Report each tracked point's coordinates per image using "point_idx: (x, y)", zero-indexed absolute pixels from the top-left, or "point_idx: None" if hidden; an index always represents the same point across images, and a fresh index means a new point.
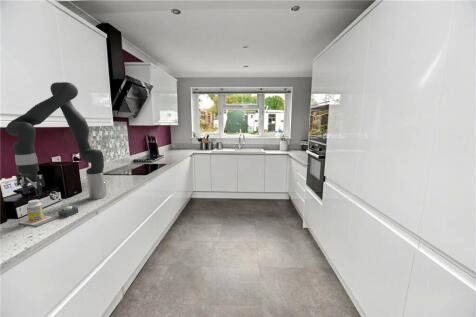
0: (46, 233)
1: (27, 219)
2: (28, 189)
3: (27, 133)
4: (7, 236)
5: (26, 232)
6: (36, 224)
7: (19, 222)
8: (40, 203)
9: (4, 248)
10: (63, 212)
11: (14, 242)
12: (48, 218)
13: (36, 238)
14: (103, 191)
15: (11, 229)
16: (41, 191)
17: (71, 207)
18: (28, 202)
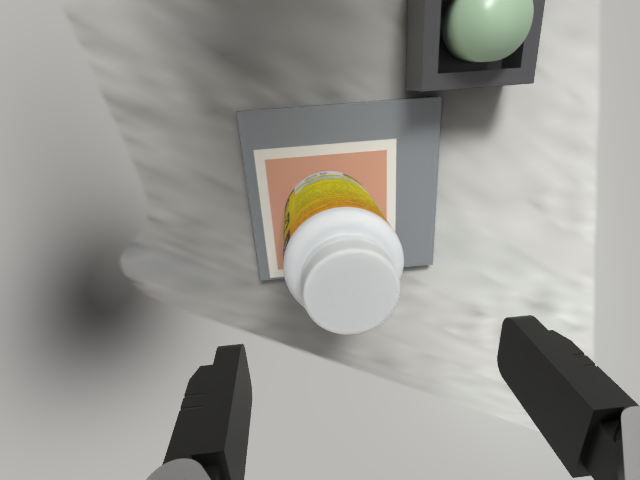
0: (566, 290)
1: (253, 229)
2: (237, 389)
3: None
4: (388, 370)
5: (440, 318)
6: (410, 256)
7: (261, 276)
8: (380, 232)
9: (499, 417)
10: (484, 86)
11: (489, 384)
12: (395, 168)
13: (560, 334)
14: None
15: (311, 327)
16: (584, 364)
17: (530, 3)
18: (344, 334)
